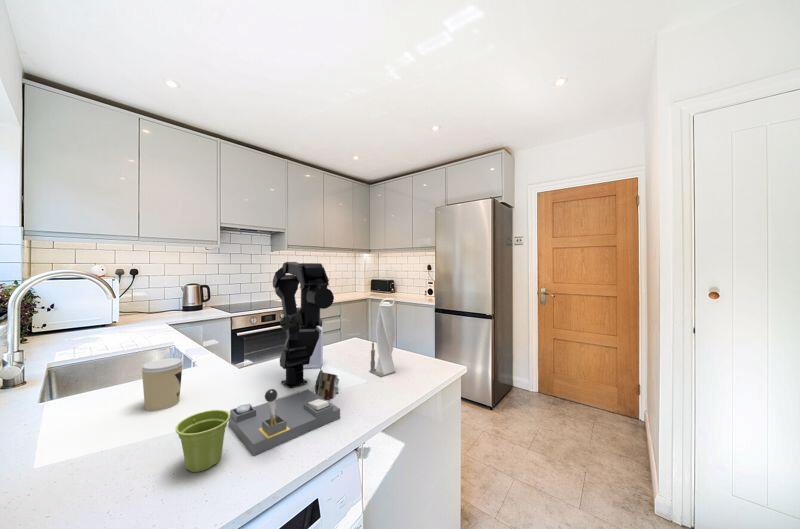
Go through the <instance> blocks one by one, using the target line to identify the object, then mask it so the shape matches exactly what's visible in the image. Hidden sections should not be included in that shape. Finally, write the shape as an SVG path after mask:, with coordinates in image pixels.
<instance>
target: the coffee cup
mask: <svg viewBox="0 0 800 529" xmlns="http://www.w3.org/2000/svg"><path fill="white" fill-rule="evenodd" d="M183 364H184V361H183V360H182V359H181V358H177V357H171V358H170V357H169V358H167V357H166V358H162V359H161V358H160V359H156V360H155V359H154V360H153V361H152V360H151V361H148V362H146V363H144V364H143V365H142V368H141V369H140V370H141V373H142V374H141V376H142V385H143V386H142V387H143V400H144V408H145V410H146V411H148V412H149V411H150V412H155V411H156V412H157V411H162V410H166V409H169V408H172V407H174V406H176V405H178V404H179V402H180V397H181V384H182V377H183V376H182V375H183V374H182V372H183Z"/></svg>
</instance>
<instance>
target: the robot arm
mask: <svg viewBox="0 0 800 529" xmlns="http://www.w3.org/2000/svg"><path fill="white" fill-rule="evenodd" d="M273 275H274V276H273V279H272V287H273V288H274V292H275V295H276V296H277V297H278V298H279V299H280V300H281V307H282V313H283V316H282V318H281V319H280V320H279V323H280V325H279V326H280V327H281V328H282V330H283V332H285V333H286V340H285V342H284V345H283V347H282V350H283V351H282V352H281V355H280V357H279V366H280V367H281V368H282V369H283V370H285V379H284V380H281V384H282V385H284V386H285V387H287V388H289V389H291V388H294V387H298V386H301V385H304V384H307V383H308V380H306V379H304V369H303V365H306V364H309V362H310V356H312V354H313V352H314V349H315V347H316V344H317V342H318V339H319V337H320V333H321V330H320V329H319V328H318V327H317V326H320V327H323V319H322V318H321V310H324V309H325V310H326V309H328V308H329V307H331V306H332V304H334V300H335V296H334V293H333V292H332V290H331V289H329V288H328V287H329V285H330V283H329V281H330V279H329V277H328V275H327V272H326V270H325V267H324V265H323V263H320V262H318V263H316V262H315V263H314V262H312V263H311V262H310V263H309V262H308V263H305V262H301V263H300V262H297V261H286V262H283V264H282V266H281V267H280V268H279V269H278V270H277V271H276V272H275V273H274V274H273ZM299 284H300V286H299ZM298 289H300V308H299V309H298V308H297V301H296V296H295V295H296V293H297V291H298Z"/></svg>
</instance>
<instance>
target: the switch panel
mask: <svg viewBox="0 0 800 529" xmlns="http://www.w3.org/2000/svg"><path fill="white" fill-rule="evenodd" d="M317 399H320V400H324V401H327V402H329V406H327V407H324V408H322V409H319V410H316V409H313V408H311V407H310V406H308V403H309V402H312V401H314V400H317ZM275 403H276V413H277V423H278V424H275V425H272V426H271V421H270V412H269V403H268V401H266V402H265V403H261V404H258V405H256V406H252V404H251V403H248V405H250V412H247V413H244V414H241V415H237V413H236V412H237V407H235V408H232V409H230V410H229V411H230V412H229V414H230V419H229V420H228V422H227V426H229V427H230V429H231V430H232V431H233V432H234V434H235V435H236V436H237V437H238V439H239V440H240V442H242V444H243V445H244V446H245V447H246V449H247V450H248V451H249V452H250V454H251V455H252V456H256V455H258V454H261V453H264V452H265V451H268V450H270V449H273V448H275V447H277V446H280V445H281V444H284V443H285V442H286V443H287V442H289V441H292V440H293V439H296V438H297V437H300V436H303V435H305V434H307V433H309V432H311V431H313V430H316V429H318V428H321V427H323V426H325V425H327V424H331V423H332V422H334V421H337V420H339V419H341V408H340V407H338V406H336V405H335V404H333V403H331V402H330V401H329V400H328V399H327V400H326V399H324V398H322V397H320V396H319V395H317V394H315V391H314V392H313V391H312V390H310V389H309V388H307V389H305V390H302V391H299V392H298V391H297V392H296V393H292V394H289V395H286V396H283V397H280V398H276V399H275Z"/></svg>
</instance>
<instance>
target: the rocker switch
mask: <svg viewBox="0 0 800 529" xmlns="http://www.w3.org/2000/svg"><path fill="white" fill-rule="evenodd" d="M327 401H328V400H327ZM327 401H324V400H320V399H317V400H314V401H312V402H309V403H308V406H310V407H311V408H313V409H316V410H319V409H322V408H324V407H327V406H329V402H330V401H328V402H327Z"/></svg>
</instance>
